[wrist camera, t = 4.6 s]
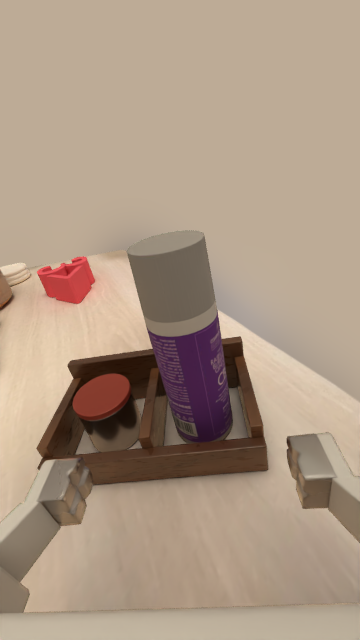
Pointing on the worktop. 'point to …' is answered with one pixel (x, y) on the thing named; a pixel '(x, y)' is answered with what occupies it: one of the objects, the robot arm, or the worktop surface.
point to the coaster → (15, 273)
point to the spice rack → (156, 424)
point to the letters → (68, 280)
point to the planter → (4, 290)
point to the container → (184, 331)
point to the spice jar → (108, 412)
